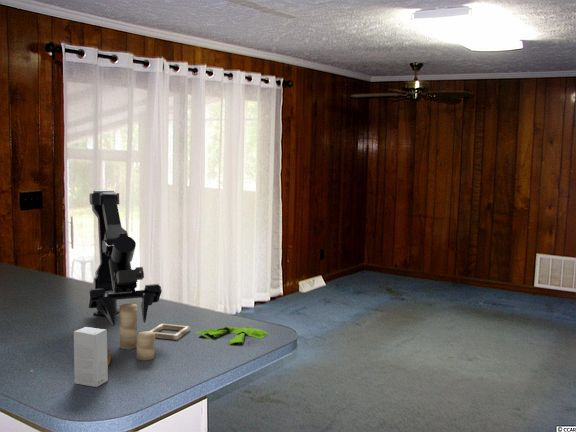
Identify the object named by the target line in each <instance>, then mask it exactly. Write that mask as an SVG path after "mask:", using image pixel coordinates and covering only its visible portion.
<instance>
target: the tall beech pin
mask: <svg viewBox="0 0 576 432" xmlns="http://www.w3.org/2000/svg"><path fill="white" fill-rule="evenodd" d="M119 309H120V312H119V348H120V349H121V350H132V349H135V348H136V349H137V334H138V306H137V304H136V303H123V304H121V305H119Z"/></svg>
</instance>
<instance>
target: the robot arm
mask: <svg viewBox="0 0 576 432" xmlns="http://www.w3.org/2000/svg"><path fill="white" fill-rule="evenodd" d="M89 205H90V206H91V210H92V212H93V213H94V215H95V216H96V217H97V228H98V229H97V230H98V248H99V265H98V267H97V269H96V270H95V276H94V277H93V281H92V286H91V287H92V288H90V290H89V292H88V296H87V305H88V308H89V309H96V311H94V312H93V313H92V314H93V315H95V316H96V315H97V316H105V317H106V318H107V320H108V321H109V322H110V324H111V325H112V326H113V327H114V326H115V325H116V321H115V315H116V314H120V308H118V300H119V301H121V300H129V299H142V301H141V305H140V308H141V317H142V321H143V323H146V322H147V315H148V309H149V306H152V305H153V303H158V302H159V300H160V297H161V295H162V286H161V285H160V284H159V283H153V284H152V283H151V284H146V285H145V287H144V289H142V290H141V289H140V290H136V288H137V287H138V281H141V280H143V279H144V278H145V273H144V267H143V266H138V267H135V268H134V269H132V265H131V264H132V263H131V262H132V261H133V258H134V255H135V250H136V246H137V245H136V244H137V243H136V241H135V239H133V238H132V237H131V236H129V234H128V231H127V230H126V229H125V228H123V226H122V223H121V218H120V212H119V207H118V205H120V193H117V192H115V190H114V189H94V190H93V191H92V193H89Z"/></svg>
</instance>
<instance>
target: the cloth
mask: <svg viewBox="0 0 576 432" xmlns="http://www.w3.org/2000/svg"><path fill="white" fill-rule="evenodd" d="M194 333H195V334H200V335H199V336H198V339H200V338H206V339H208V340H215V339H217V338H220V337H221V336H224V335H227V334H228V333H229V334H232V335H233V334H234V335H235V336H234V338H232V339H230V340H229V342H228V343H227V345H228V346H231V345H233V344H234V345H236V346H237V345H242V346H243V345H244V341H245V336H246V335H247V336H248V337H251V338H256V339H263V338H266V337H265V336H269V335H270V333H268V332H267V331H265V330H263V329H260V328H259V329H258V328H255V327H235V326H234V327H233V326H225V327H220V328H219V327H217V328H213V329H212V328H211V329H209V328H208V329H203V330H199V331H195V332H194Z"/></svg>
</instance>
